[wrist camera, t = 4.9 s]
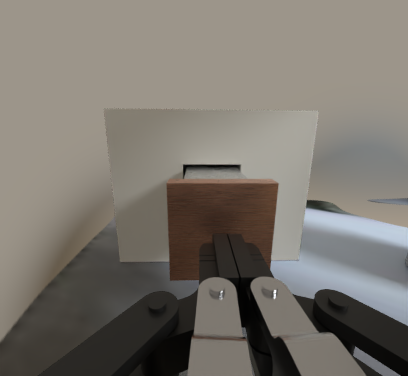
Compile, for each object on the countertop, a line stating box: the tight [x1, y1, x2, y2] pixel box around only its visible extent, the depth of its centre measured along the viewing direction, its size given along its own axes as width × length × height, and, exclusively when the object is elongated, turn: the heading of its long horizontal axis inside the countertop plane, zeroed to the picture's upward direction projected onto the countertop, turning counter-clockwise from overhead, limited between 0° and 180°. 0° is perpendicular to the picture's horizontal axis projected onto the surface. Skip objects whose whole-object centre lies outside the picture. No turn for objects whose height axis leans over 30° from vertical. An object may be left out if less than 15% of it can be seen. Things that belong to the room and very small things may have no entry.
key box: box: [104, 109, 319, 262], centre depth 26 cm, size 20×8×16 cm, turn 92°
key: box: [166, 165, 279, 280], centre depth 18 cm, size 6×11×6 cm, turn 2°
